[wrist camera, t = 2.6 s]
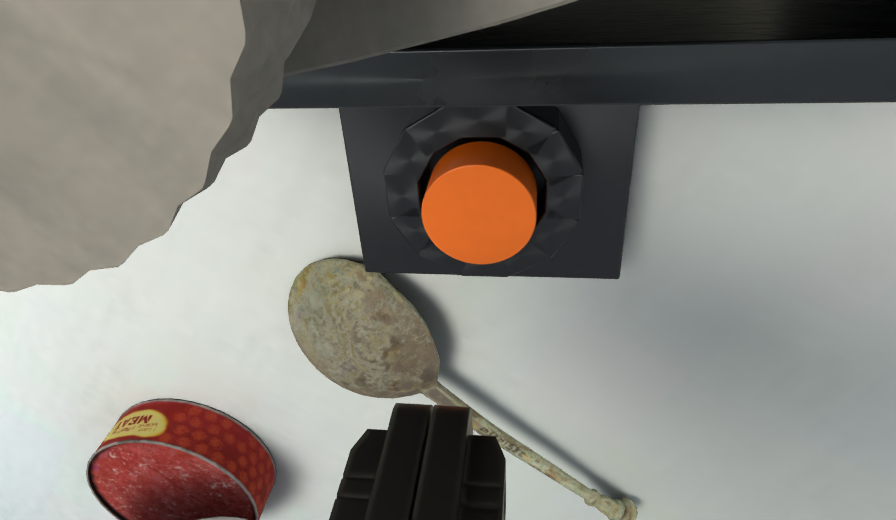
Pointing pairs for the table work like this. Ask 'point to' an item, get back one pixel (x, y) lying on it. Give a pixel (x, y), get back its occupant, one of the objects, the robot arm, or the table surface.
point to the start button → (480, 203)
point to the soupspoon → (393, 354)
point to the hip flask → (162, 106)
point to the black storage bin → (632, 58)
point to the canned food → (181, 465)
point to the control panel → (532, 137)
